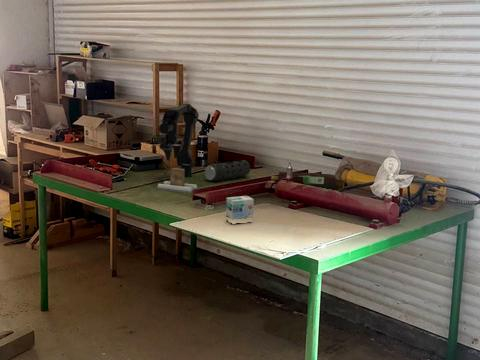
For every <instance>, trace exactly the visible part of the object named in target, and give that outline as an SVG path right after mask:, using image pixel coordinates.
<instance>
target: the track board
mask: <svg viewBox="0 0 480 360" xmlns="http://www.w3.org/2000/svg"><path fill="white" fill-rule="evenodd" d="M196 188H198V185H197V184H193V183H184V187H182V186H174V185H170V181H166V180H164V181H163V183H158V184H157V187H156V190H161V191H165V192H166V191H167V192H173V193H174V192H175V193H182V194H183V193H184V194H191V193H193V192H194V191H193V190H194V189H196ZM198 189H199V188H198ZM192 191H193V192H192Z"/></svg>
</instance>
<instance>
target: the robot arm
mask: <svg viewBox="0 0 480 360" xmlns="http://www.w3.org/2000/svg"><path fill="white" fill-rule="evenodd" d="M181 115H182V117H183V121H184V124H185V126H184V131H183V136H182V137H183V138H182V139H178V136H179V135H180V134H179V133H178V123H179V119H180V118H181ZM199 115H200V114H199V111H198V110H197V109H196V108H195V107H194V106H192V104H190V103H181V105H178V106H177V107H175V108H166V109H165V111H164V114H163V117H162V120H161V124H159V127H158V130H159V132H160V133H161V134H162V135H164V136H161V135H158V136H156V143H157V144H158V145H159V149H160V150H161V151H163V153H164V156H165V159H166V161H167V162H169V161H170V158H171V157H172V153H173V156H174V159H176V164H177V167H178V166H179V169H184V178H189V177H193V174H192V168H193V167H194V165H195V161H194V159H193V157H192V156H193V154H192V151H191V145H192V144H191V143H192V138H193V131H194V126H195V125H196V124H197V122H198V120H199Z"/></svg>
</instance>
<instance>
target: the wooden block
mask: <svg viewBox="0 0 480 360" xmlns="http://www.w3.org/2000/svg"><path fill="white" fill-rule="evenodd" d="M179 168H180V167H179ZM179 168H177V167H173V168H170V177H169V178H170V180H169V182H170V185H174V186H182V187H184V184H185V177H184V169H179Z"/></svg>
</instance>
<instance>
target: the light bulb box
mask: <svg viewBox="0 0 480 360" xmlns="http://www.w3.org/2000/svg"><path fill="white" fill-rule="evenodd" d="M225 202H226V204H225V205H226V207H225V218H226V217H228V218H230V219H232V220H234V219H246V218H253V219H254V202H255V200H254V198H252V197H250V196H249V195H241V196H231V197H226V201H225Z"/></svg>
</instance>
